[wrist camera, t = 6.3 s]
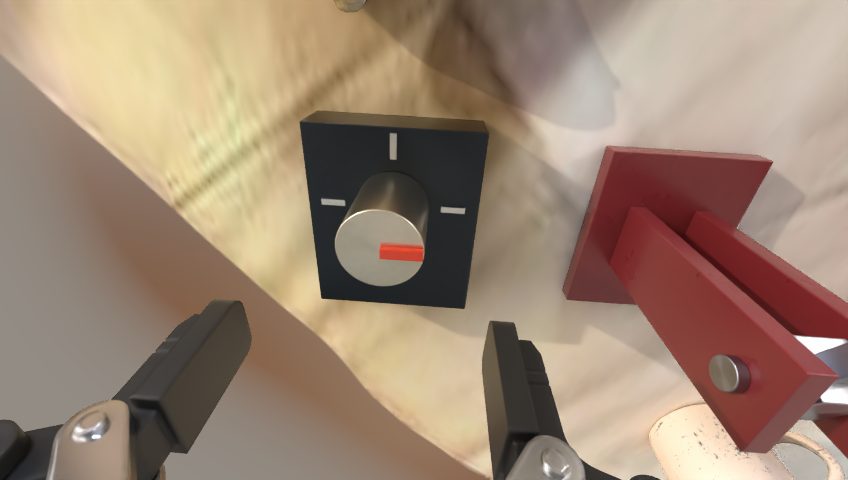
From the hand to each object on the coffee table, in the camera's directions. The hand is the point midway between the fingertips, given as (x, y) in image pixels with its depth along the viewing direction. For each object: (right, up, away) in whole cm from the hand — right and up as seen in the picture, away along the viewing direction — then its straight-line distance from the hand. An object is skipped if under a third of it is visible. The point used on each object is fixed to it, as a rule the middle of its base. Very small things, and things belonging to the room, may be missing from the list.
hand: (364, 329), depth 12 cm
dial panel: (0, +5, +13) cm, 14 cm away
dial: (0, +5, +9) cm, 10 cm away
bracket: (+17, +4, +12) cm, 21 cm away
